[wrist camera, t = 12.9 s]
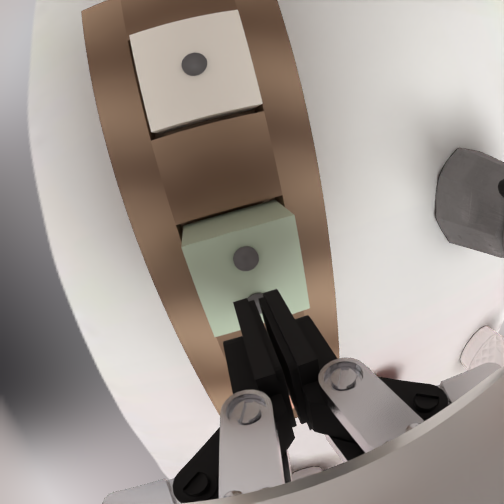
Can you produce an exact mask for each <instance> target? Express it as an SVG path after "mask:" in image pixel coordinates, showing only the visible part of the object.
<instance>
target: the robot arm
mask: <svg viewBox="0 0 504 504" xmlns="http://www.w3.org/2000/svg"><path fill="white" fill-rule="evenodd" d="M258 300H259V304H260V308H261V311H262V315H263V319H264V323H265V326H264V323H263V321H262V318H261V316H260V313H259V311H258V309H257V306H256V304H255V301H254V300H252V301H248V299H247V298H245V299H242V300H238V301H235V302H233V304H234V308H235V311H236V315H237V318H238V322H239V326H240V329H241V333H242V336H240V337H237V338H233V339H230V340H226V341H223V346H224V352H225V357H226V362H227V367H228V372H229V377H230V382H231V387H232V392H233V395H231V396H230V397H229V398H228V399H227V400H226V401H225V402H224V404H223V405H222V408H221V412H220V427H219V429H218V430H217V431H216V432H215V433H214V434H213V435H212V437H211V438H210V439H209V440H208V441H207V442H206V443H205V444H204V446H203V447H202V448H201V449H200V450H199V451H198V452H197V453H196V454H195V456H194V457H193V458H192V459H191V460H190V461H189V462H188V463H187V464H186V465H185V466H184V467H183V468H182V469H181V470H180V472H179V473H178V474H177V475H176V477H175V478H174V479H171V480H168V481H167V480H166V479H162V480H158V481H155V482H152V483H148V484H144V485H141V486H137V487H133V488H129V489H125V490H121V491H116V492H113V493H111V494H109V495H108V496H107V497H106V498H105V499H104V501H103V503H102V504H504V366H503V367H501V366H500V365H498V364H496V363H490V362H488V363H484V364H482V365H479V366H477V367H475V368H473V369H471V370H468V371H466V372H464V373H461V374H459V375H456V376H454V377H451V378H449V379H446V380H444V381H441V384H440V385H438V386H435V385H431V384H424V383H416V382H409V381H402V380H395V379H388V378H382V377H377V376H376V375H375V374H374V373H373V372H372V371H371V370H370V369H369V368H368V367H367V366H366V365H365V364H364V363H362V362H361V361H359V360H357V359H353V358H339V359H338V358H337V357H336V355H335V354H334V352H333V351H332V349H331V348H330V346H329V345H328V343H327V342H326V340H325V339H324V337H323V336H322V334H321V333H320V331H319V330H318V328H317V327H316V325H315V324H314V322H313V321H312V319H311V318H310V316H309V315H306V316H303V317H300V318H297V319H295V318H294V317H293V315H292V313H291V312H290V310H289V308H288V306H287V305H286V303H285V301H284V300H283V298H282V296H281V294H280V293H279V291H278V289H274V290H271V291H268V292H265V293H263V297H262V298H258ZM265 327H266V328H265ZM266 330H267V331H266ZM289 396H290V397H289ZM290 398H291V401H292V403H293V406H294V408H295V411H296V413H297V415H298V418H299V420H300V423H301V424H304V423H306V422H307V424H308V426H309V429H310V430H311V429H313V430H314V431H315V432H318V433H322V434H324V435H325V437H326V439H327V441H328V442H329V443H330V445H331V446H332V448H333V449H334V450H335V452H336V453H337V454H338V456H339V457H340V458H341V460H342V461H343V463H342V464H339V465H337V466H334V467H332V468H329V469H327V470H324V471H321V472H319V473H316V474H313V475H310V476H307V477H304V478H301V479H298V480H295V481H293V480H292V473H291V467H290V460H289V453H288V450H287V449H288V448H289V446H290V445H291V443H292V442H293V440H294V438H295V436H294V433H293V429H292V427H295V426H297V425H296V421H295V417H294V413H293V409H292V405H291V401H290Z"/></svg>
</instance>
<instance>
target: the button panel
mask: <svg viewBox="0 0 504 504" xmlns="http://www.w3.org/2000/svg"><path fill="white" fill-rule="evenodd" d="M232 10H238V12H239V15H240V19H241V22H242V26H243V29H244V33H245V37H246V40H247V44H248V48H249V51H250V55H251V59H252V63H253V67H254V71H255V75H256V78H257V82H258V86H259V91H260V95H261V99H262V103H263V104H261V105H259V106H257V107H255V108H253V109H251V110H249V111H245V112H240V113H235V114H231V115H227V116H222V117H218V118H214V119H210V120H206V121H202V122H199V123H195V124H191V125H188V126H184V127H181V128H177V129H174V130H171V131H168V132H164V133H161V134H158V133H153V132H151V129H150V125H149V121H148V117H147V114H146V109H145V105H144V101H143V97H142V93H141V89H140V84H139V80H138V75H137V71H136V66H135V61H134V57H133V52H132V47H131V42H130V37H129V35H132V34H135V33H138V32H141V31H144V30H147V29H150V28H154V27H157V26H160V25H164V24H168V23H172V22H175V21H180V20H184V19H188V18H193V17H197V16H202V15H207V14H213V13H219V12H225V11H232ZM81 13H82V22H83V31H84V38H85V46H86V52H87V58H88V64H89V70H90V76H91V81H92V86H93V91H94V96H95V100H96V105H97V109H98V114H99V118H100V122H101V126H102V130H103V134H104V138H105V142H106V146H107V149H108V153H109V156H110V160H111V163H112V167H113V170H114V174H115V177H116V180H117V183H118V187H119V190H120V193H121V196H122V199H123V202H124V205H125V208H126V211H127V214H128V217H129V220H130V223H131V225H132V228H133V231H134V234H135V236H136V239H137V242H138V244H139V247H140V250H141V252H142V255H143V257H144V260H145V263H146V265H147V268H148V270H149V273H150V275H151V277H152V280H153V282H154V285H155V287H156V289H157V292H158V294H159V296H160V299H161V301H162V303H163V305H164V308H165V310H166V312H167V314H168V317H169V319H170V321H171V323H172V325H173V327H174V329H175V332H176V334H177V336H178V338H179V340H180V342H181V344H182V346H183V348H184V350H185V352H186V354H187V356H188V358H189V360H190V362H191V364H192V366H193V368H194V370H195V372H196V374H197V375H198V377H199V379H200V381H201V383H202V385H203V387H204V388H205V390H206V392H207V394H208V396H209V397H210V399H211V401H212V403H213V405H214V406H215V408H216V410H217V412H218V413H219V415H220V412H221V408H222V405H223V404H224V402H225V401H226V400H227V399H228V398H229V397H230V396H231V395H233V392H232V387H231V382H230V377H229V372H228V367H227V362H226V357H225V352H224V346H223V341H226V340H230V339H233V338H237V337H240V336H242V333H241V330H239V331H236V332H232V333H228V334H225V335H221V336H218V337H214V334H213V332H212V329H211V327H210V324H209V322H208V319H207V317H206V314H205V311H204V309H203V306H202V304H201V301H200V298H199V296H198V293H197V290H196V287H195V285H194V282H193V279H192V276H191V274H190V271H189V268H188V265H187V262H186V259H185V257H184V254H183V251H182V248H181V245H182V235H183V226H184V225H187V224H190V223H194V222H197V221H200V220H204V219H207V218H211V217H214V216H218V215H221V214H225V213H228V212H232V211H235V210H239V209H243V208H246V207H250V206H254V205H257V204H261V203H265V202H269V201H273V200H276V201H277V202H279V203H280V204H281V205H282V206H284V207H285V208H286V209H288V210H289V211H290V212H291V213H293V214H294V215H295V220H296V226H297V231H298V237H299V243H300V249H301V254H302V260H303V266H304V273H305V279H306V285H307V292H308V298H309V305H310V308H309V309H306V310H303V311H300V312H297V313H294V314H292V315H293V317H294V318H295V319H297V318H300V317H303V316H306V315H309V316H310V318H311V319H312V321H313V322H314V324H315V325H316V327H317V328H318V330H319V331H320V333H321V334H322V336H323V337H324V339H325V340H326V342H327V343H328V345H329V346H330V348H331V349H332V351H333V352H334V354H335V355H336V357H337V358H338V359H339V341H338V325H337V311H336V299H335V288H334V277H333V268H332V259H331V250H330V242H329V234H328V227H327V219H326V212H325V206H324V199H323V193H322V187H321V181H320V175H319V169H318V163H317V158H316V152H315V147H314V142H313V137H312V132H311V127H310V122H309V118H308V113H307V109H306V104H305V100H304V95H303V91H302V87H301V83H300V79H299V75H298V71H297V67H296V63H295V59H294V56H293V52H292V48H291V45H290V41H289V37H288V34H287V31H286V27H285V24H284V21H283V17H282V14H281V11H280V8H279V5H278V2H277V0H107V1H104V2H102V3H99V4H97V5H94V6H92V7H90V8H87V9H85V10H83V11H81ZM264 326H265V323H264ZM265 328H266V327H265ZM266 331H267V330H266ZM293 413H294V417H295V418H297V417H298V415H297V413H296V411H295V408H293Z"/></svg>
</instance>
